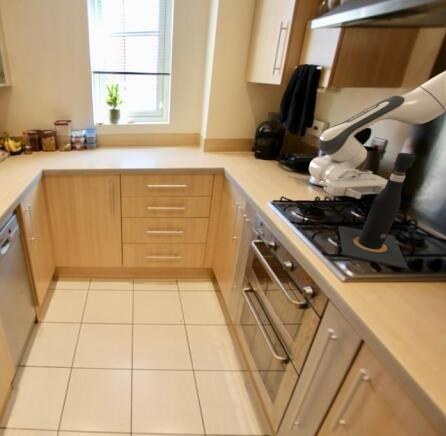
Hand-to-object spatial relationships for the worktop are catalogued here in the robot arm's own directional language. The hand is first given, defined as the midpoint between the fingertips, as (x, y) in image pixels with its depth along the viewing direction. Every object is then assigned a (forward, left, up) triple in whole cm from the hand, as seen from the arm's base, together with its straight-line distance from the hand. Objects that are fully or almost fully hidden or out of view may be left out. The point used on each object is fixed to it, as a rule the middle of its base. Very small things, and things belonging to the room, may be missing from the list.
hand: (375, 196), depth 100 cm
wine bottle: (-3, +4, -15) cm, 16 cm away
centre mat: (-3, +4, -16) cm, 17 cm away
